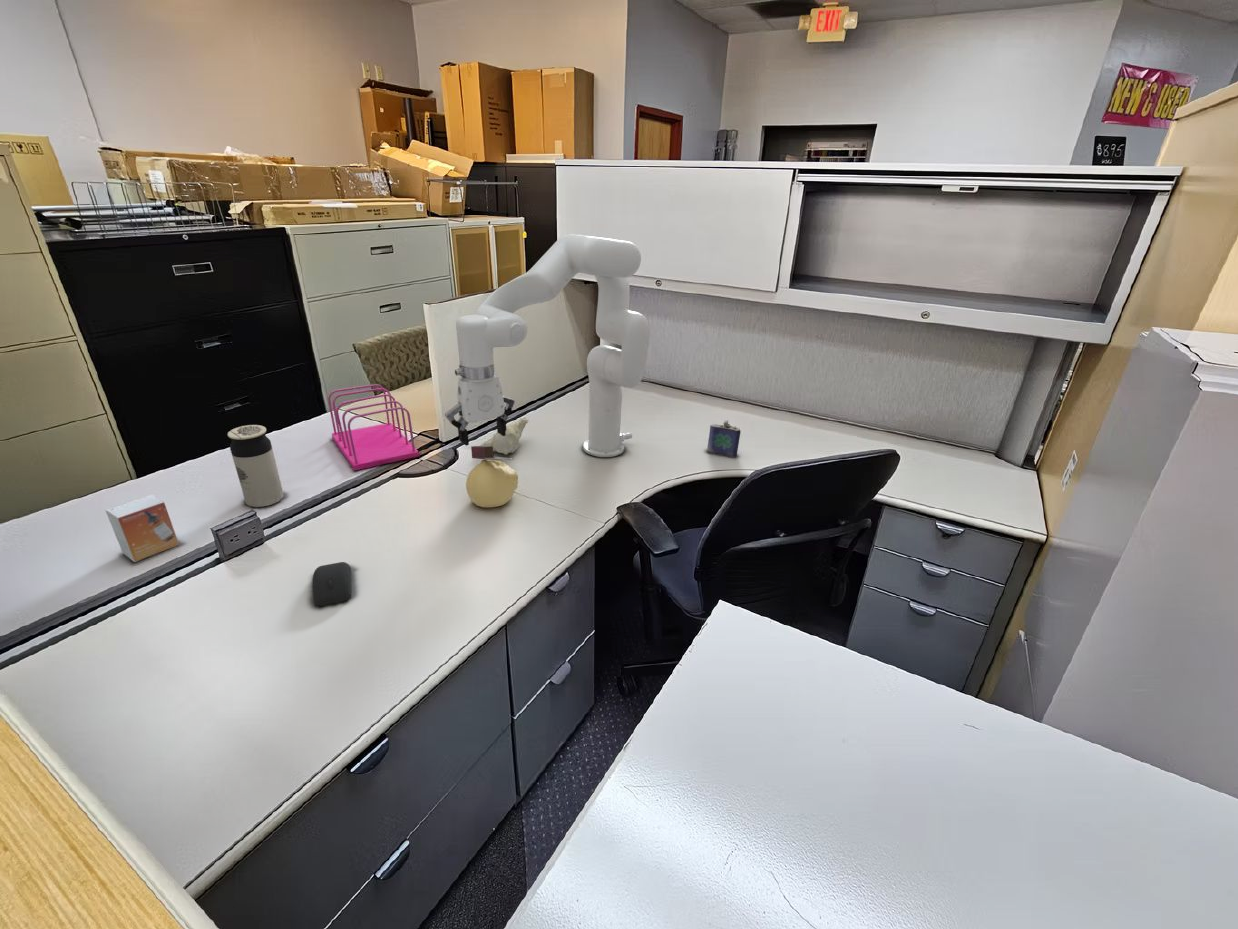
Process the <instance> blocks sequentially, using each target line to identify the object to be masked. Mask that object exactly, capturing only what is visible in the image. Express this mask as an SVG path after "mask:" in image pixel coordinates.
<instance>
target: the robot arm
mask: <svg viewBox="0 0 1238 929" xmlns="http://www.w3.org/2000/svg"><path fill="white" fill-rule="evenodd" d="M641 262H642V256H641V251H640V249H639V248H638V246H637V245H636V244H635V243H633V242H631V241H628V240H627V241H626V240H620V239H613V238H607V237H597V236H591V235H583V234H576V233H567V234H564V235H562V236H561V237H559V238H558V239H557V240H556V241H555V242H554V243H553V244H552V245H551V246H550V247H549V248H548V250H547V251H546V252H544V254H543V255H542V256H541V257H540V258H539V259H538V260H537V261H536V262H535V264H534V265H532V267H531V268H530V269H529V270H528V271H526V272H525V273H523V274H521V275H519V276H517V277H515V278H513V279H512V280H510V281H508V282H506V283H504V284H502V285H501V286H499V287H498V288H496V289H495V290H493V291H492V293H490V294H489V296H487V298H485V300H483V302H482V303H481V304H480V305H479V307H478V308H477V309H476V311H475V313H474V314H466V315H462V316H460V317H459V318H457V320H456V322H455V328H456V340H457V348H458V349H457V350H458V358H459V365H458V367H459V368H457V369H454V374H455V376H459V377H458V380H457V393H456V394H457V396H456V397H457V399H456V400H457V403H456V404H455V405H454V406H453V407H451V408H450V409H448V410H447V411H446V412H445V413H444V416H445V418H446V419H447V420H448V422H449V424H451V425H452V426H453V427H455V428H457V434H458V435H457V436H458V441H460V443H462V444H463V445H464V446H466V447H467V446H469V445H470V441H469V431H468V429H467V426H468V425H469V424H471V423H478V422H482V421H487V420H491V419H495V418H496V419H495V420H496V433H497V432H498V433H499V434H501V435H502V436H505V435H506V433H505V431H506V426H507V421H508V419H509V416H510V415H511V413H512V411H513V408H514V405H515V399H513V398H510V397H507V396H504V393H503V388H502V384H501V380H500V377H499V374H497V373H495V360H494V348H510V347H516V346H518V345H520V344H522V343H523V342H524V340H526V339H527V338H526V337H527V335H528V326H527V323H526V321H525V320H524V319H523V318H522V317H521V316H520V315H518V314H516V312H517V311H518V310H521V309H523V308H525V307H529V306H532V305H537V304H543V303H546V302H550V301H552V300H555V298H557V296H558V295H559V294H560V292H561V291H562V290H564V288H566V286H567V285H569V282H571V280H573V278H574V277H575V276H576V275H577V274H584V275H589V276H594V278H595V280H596V282H597V288H598V295H597V296H598V297H597V306H596V315H595V316H596V317H595V333H596V335H597V337H599V338H600V339H601V340H603V341H605V342H608V343H611V344H614V345H619V346H621V347H620V348H618V347H615V346H611V345H607V344H600V345H596V346H594V347H593V348H592V349H591V350H590V351H589V352H588V355H587V359H586V371H587V376H588V382H589V383H588V384H589V399H588V401H589V402H588V406H589V407H588V433H587V436H588V437H587V440H585V441H584V442H583V444H582V449H583V451H584V452H585V453H586V454H588V455H591V456H592V457H599V458H613V457H617V456H619V455H622V454H623V453H624V451H625V445H624V443H623V442H624V441H625V440H630V439H632V438H633V434H632V432H625V433H624V431H623V430H621V424H622V423H621V422H622V404H623V390H622V387H623V388H626V389H632V388H635V387H637V386H638V385H640V383H641V382H642V380H643V379H644V378H643V377H644V375H645V372H646V365H647V358H648V352H649V344H650V337H651V336H650V335H651V334H650V333H651V329H650V324H649V321H648V319H647V318H646V316H644V314H642V313H640V312H638V311H633V310H630V296H631V295H630V294H631V289H630V288H631V286H630V282H629V278H630V277H632V276H634V275H635V274H636V273H637V272H638V270H639V269H640V266H641V264H642V263H641ZM505 404H506V405H505ZM457 414H458V416H459V417H458V419H457V420H456V418H455V416H456V415H457Z"/></svg>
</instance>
